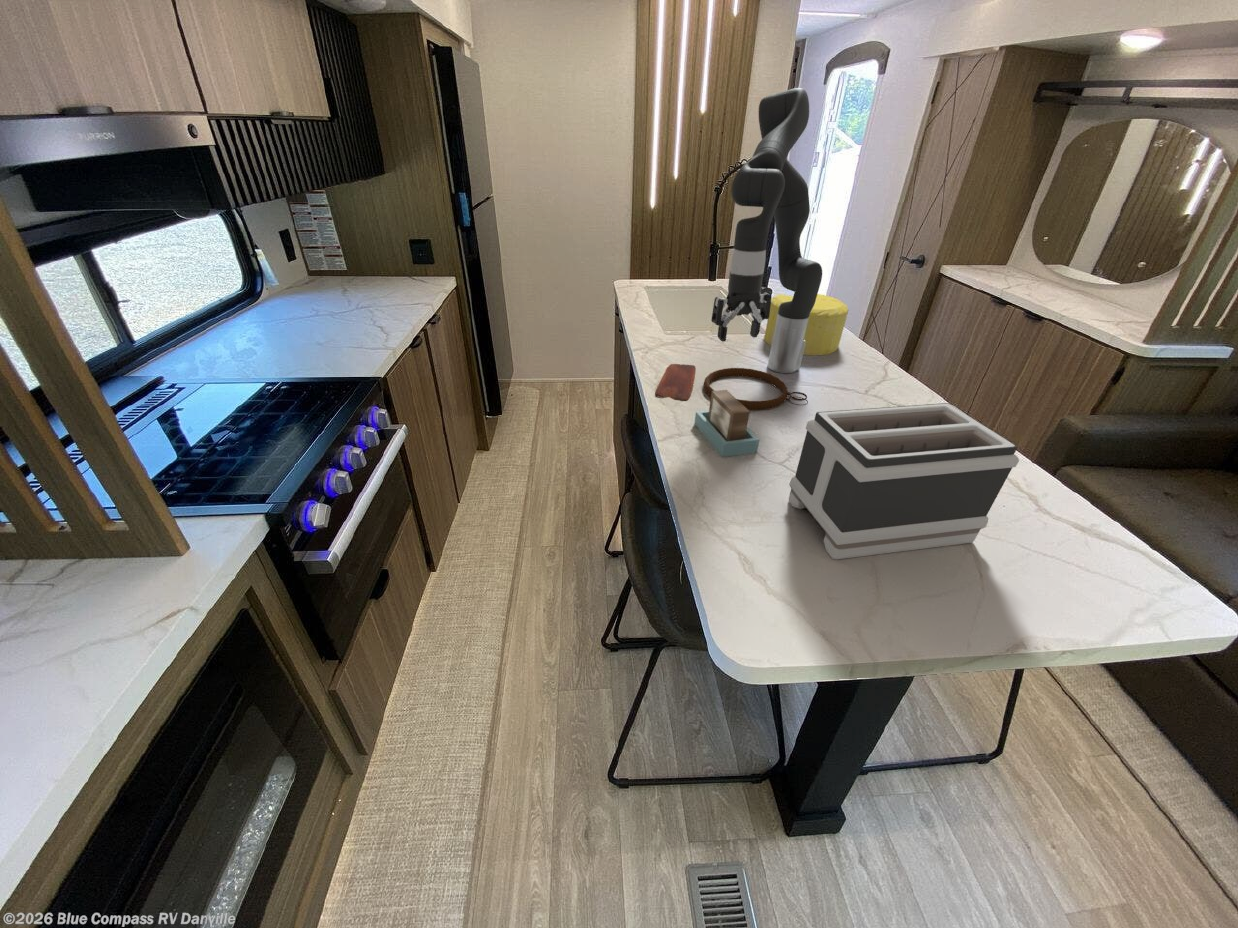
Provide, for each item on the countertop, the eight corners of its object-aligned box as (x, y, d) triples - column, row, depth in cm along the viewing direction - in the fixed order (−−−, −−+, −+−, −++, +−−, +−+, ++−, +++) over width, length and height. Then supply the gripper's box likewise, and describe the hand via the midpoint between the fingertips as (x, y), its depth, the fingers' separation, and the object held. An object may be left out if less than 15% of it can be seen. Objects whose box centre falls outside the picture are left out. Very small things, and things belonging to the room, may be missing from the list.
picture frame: (707, 423, 131) (711, 391, 126) (721, 421, 132) (726, 389, 127) (728, 447, 121) (733, 413, 116) (743, 445, 122) (750, 411, 118)
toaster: (995, 542, 97) (1049, 447, 86) (830, 562, 91) (865, 464, 80) (929, 485, 112) (967, 399, 101) (784, 500, 106) (807, 410, 95)
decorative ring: (807, 413, 134) (695, 392, 143) (804, 423, 136) (694, 402, 144) (812, 378, 153) (713, 362, 162) (810, 387, 155) (712, 370, 163)
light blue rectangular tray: (694, 423, 133) (695, 411, 131) (726, 419, 135) (728, 408, 133) (722, 457, 120) (724, 444, 118) (756, 452, 122) (759, 439, 120)
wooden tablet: (688, 403, 144) (689, 398, 143) (653, 398, 146) (653, 393, 145) (699, 367, 166) (699, 363, 165) (668, 364, 167) (669, 359, 166)
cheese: (771, 326, 201) (778, 287, 193) (841, 337, 193) (852, 296, 184) (757, 347, 181) (765, 304, 173) (834, 360, 173) (846, 316, 164)
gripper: (765, 263, 121) (755, 330, 130) (711, 268, 117) (704, 336, 127) (783, 271, 115) (771, 340, 124) (726, 276, 112) (718, 347, 121)
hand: (737, 338), depth 125 cm, fingers open, 8 cm apart
